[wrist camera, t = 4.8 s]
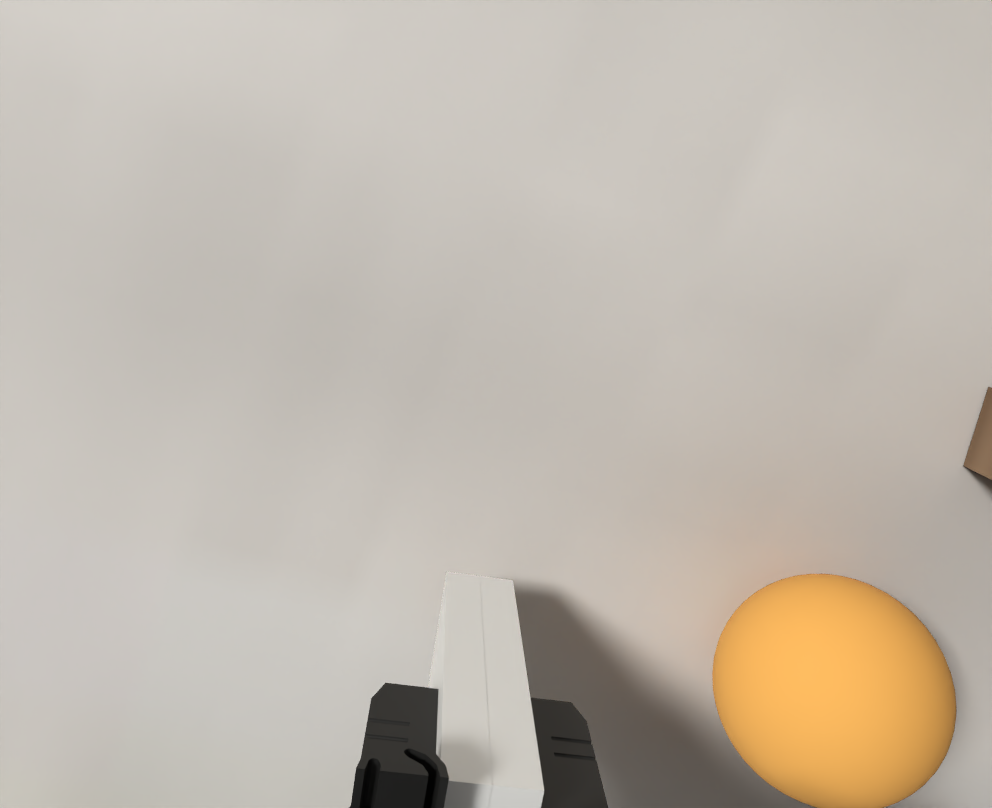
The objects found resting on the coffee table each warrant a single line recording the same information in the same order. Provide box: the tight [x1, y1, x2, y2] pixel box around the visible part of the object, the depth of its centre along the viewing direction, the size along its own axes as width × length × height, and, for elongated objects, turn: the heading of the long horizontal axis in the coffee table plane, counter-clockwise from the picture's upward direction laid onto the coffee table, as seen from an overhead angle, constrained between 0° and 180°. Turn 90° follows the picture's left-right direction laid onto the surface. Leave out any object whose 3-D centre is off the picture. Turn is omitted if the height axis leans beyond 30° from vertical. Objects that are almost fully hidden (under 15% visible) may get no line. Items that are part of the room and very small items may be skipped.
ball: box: [712, 574, 956, 808], centre depth 18 cm, size 5×5×5 cm
